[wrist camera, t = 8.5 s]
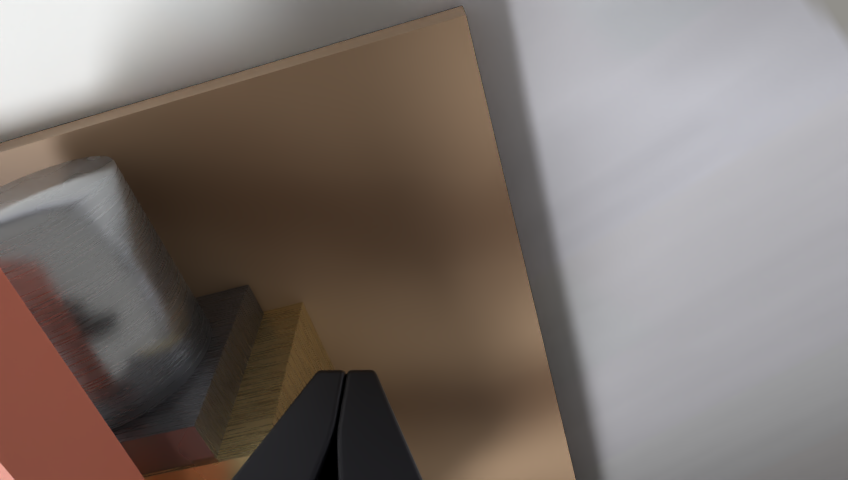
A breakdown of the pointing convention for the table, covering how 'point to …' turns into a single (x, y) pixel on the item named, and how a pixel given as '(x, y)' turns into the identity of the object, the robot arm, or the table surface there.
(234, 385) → the valve
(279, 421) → the robot arm
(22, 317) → the lever
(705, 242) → the table surface
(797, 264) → the table surface
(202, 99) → the board
